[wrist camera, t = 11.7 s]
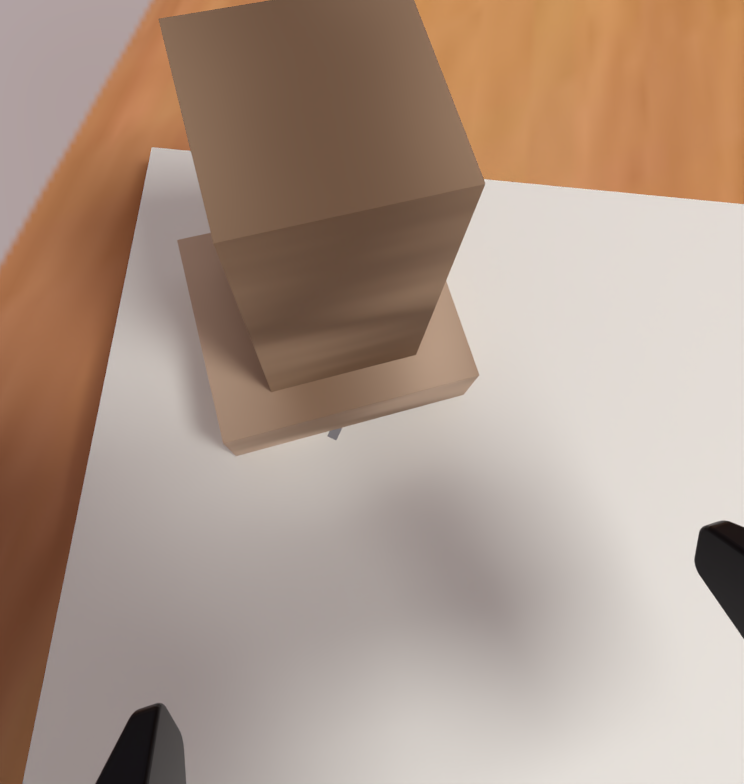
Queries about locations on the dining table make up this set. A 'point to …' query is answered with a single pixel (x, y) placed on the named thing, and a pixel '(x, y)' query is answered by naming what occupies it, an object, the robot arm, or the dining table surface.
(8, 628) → the dining table surface
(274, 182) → the brown pedestal block
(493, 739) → the board
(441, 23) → the dining table surface
